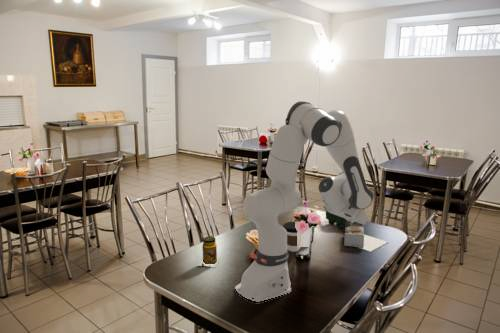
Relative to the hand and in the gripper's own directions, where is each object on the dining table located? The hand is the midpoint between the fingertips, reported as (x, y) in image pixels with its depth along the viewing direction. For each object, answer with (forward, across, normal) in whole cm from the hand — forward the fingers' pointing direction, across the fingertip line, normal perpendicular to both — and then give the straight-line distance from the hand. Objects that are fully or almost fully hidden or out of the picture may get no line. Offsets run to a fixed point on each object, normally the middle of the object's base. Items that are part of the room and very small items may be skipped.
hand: (351, 220), depth 169 cm
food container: (+9, -21, -14) cm, 27 cm away
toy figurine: (+28, -21, +5) cm, 35 cm away
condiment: (-28, -33, -52) cm, 68 cm away
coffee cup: (-1, -19, -24) cm, 30 cm away
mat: (+22, 0, 0) cm, 22 cm away
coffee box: (+12, -1, -4) cm, 13 cm away
